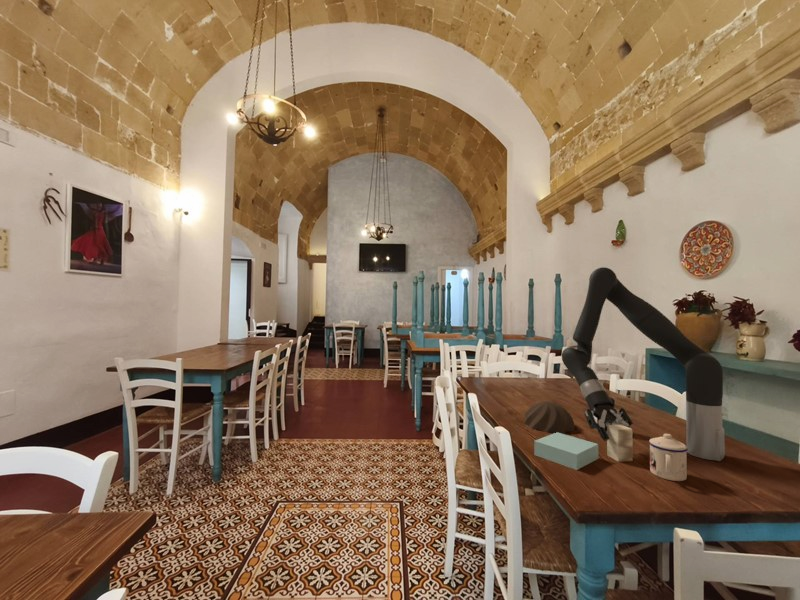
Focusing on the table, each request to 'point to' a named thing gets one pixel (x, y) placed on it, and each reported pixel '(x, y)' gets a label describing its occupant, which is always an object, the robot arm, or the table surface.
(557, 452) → the teal block
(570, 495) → the table surface
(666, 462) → the teacup with lid
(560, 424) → the decorative dome
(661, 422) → the table surface
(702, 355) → the robot arm
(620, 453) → the birch block
